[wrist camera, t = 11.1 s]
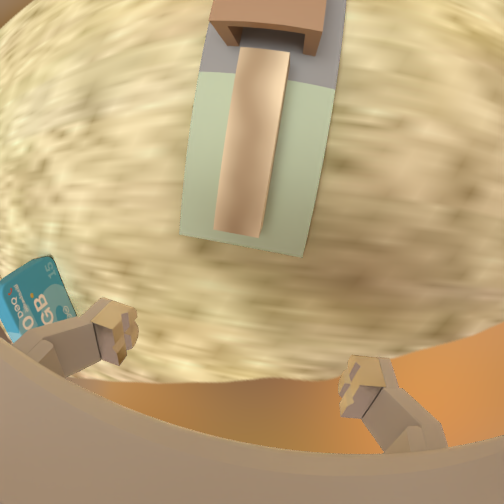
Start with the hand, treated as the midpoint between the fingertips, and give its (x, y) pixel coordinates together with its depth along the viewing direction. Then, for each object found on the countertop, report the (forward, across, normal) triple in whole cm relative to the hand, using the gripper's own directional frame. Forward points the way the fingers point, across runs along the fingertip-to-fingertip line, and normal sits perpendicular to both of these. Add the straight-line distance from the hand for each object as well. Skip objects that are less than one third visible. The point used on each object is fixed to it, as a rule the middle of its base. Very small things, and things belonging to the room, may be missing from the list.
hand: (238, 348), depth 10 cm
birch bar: (+19, +3, -7) cm, 21 cm away
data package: (+21, +32, +18) cm, 42 cm away
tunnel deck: (+21, +3, -14) cm, 25 cm away
